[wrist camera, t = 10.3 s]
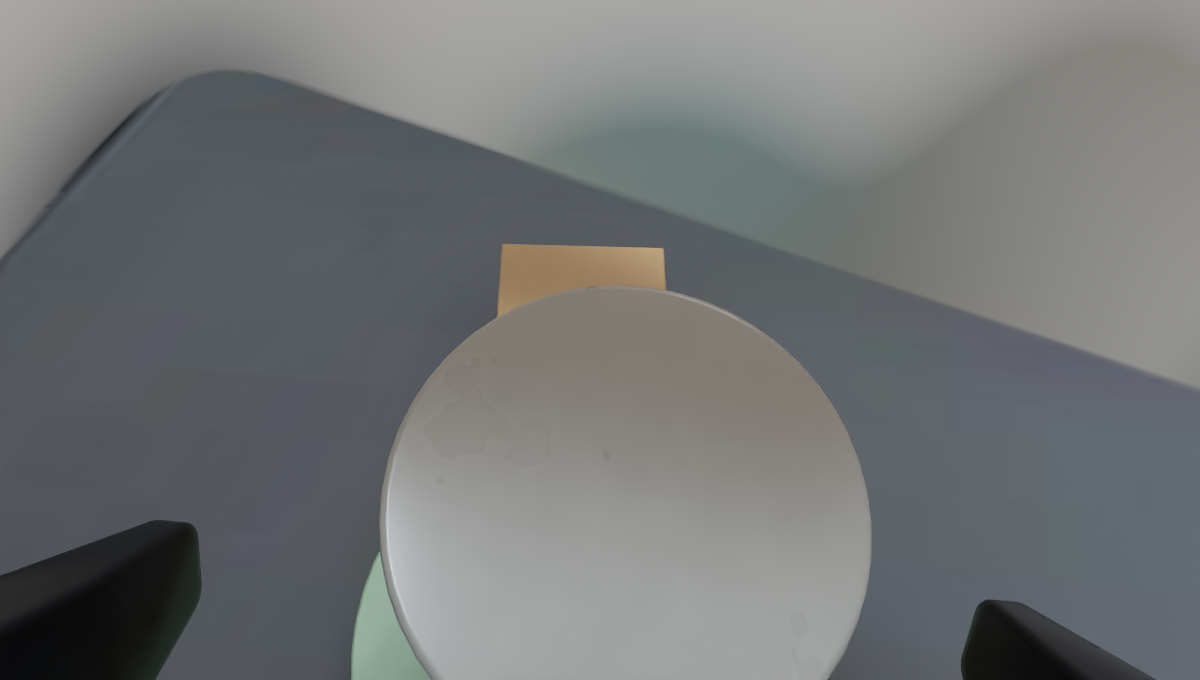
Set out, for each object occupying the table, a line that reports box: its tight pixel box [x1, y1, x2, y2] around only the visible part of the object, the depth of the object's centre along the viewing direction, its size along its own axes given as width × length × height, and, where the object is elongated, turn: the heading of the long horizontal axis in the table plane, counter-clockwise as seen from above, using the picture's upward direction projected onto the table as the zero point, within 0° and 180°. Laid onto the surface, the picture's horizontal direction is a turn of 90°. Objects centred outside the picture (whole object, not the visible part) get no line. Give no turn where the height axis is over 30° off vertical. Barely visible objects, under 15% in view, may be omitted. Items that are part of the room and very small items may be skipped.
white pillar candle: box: [379, 244, 871, 680], centre depth 11 cm, size 11×5×10 cm, turn 1°
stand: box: [351, 551, 431, 680], centre depth 15 cm, size 9×9×2 cm
